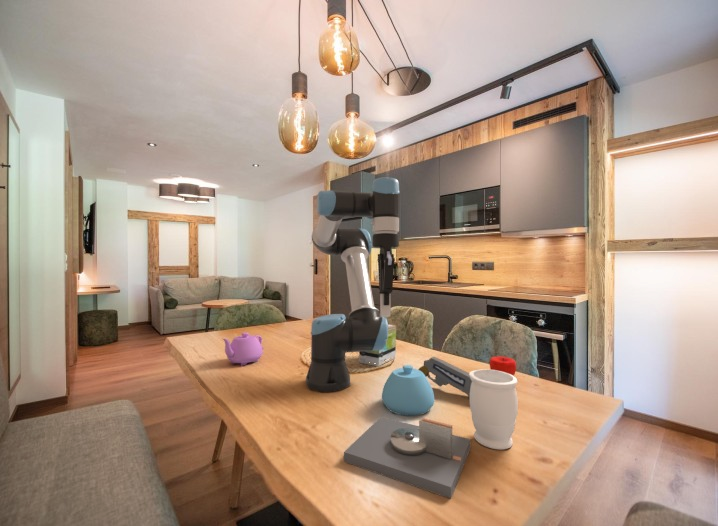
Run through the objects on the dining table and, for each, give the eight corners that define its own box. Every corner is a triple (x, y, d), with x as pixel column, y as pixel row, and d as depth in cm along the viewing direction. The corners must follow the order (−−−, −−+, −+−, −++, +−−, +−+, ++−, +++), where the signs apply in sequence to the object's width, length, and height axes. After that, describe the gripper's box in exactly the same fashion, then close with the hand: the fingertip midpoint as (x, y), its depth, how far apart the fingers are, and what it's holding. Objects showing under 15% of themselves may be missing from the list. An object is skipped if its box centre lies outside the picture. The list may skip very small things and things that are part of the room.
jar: (462, 429, 81) (462, 369, 81) (502, 428, 82) (502, 368, 82) (482, 454, 70) (482, 384, 70) (527, 452, 71) (527, 383, 71)
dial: (384, 448, 69) (384, 418, 69) (399, 431, 76) (399, 404, 76) (445, 467, 62) (445, 435, 62) (456, 447, 69) (456, 418, 69)
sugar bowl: (373, 400, 99) (373, 361, 99) (415, 392, 105) (415, 356, 105) (398, 422, 85) (398, 377, 85) (445, 412, 91) (445, 370, 91)
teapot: (233, 372, 124) (233, 340, 124) (211, 365, 132) (211, 335, 132) (273, 359, 141) (273, 331, 141) (251, 354, 149) (251, 327, 149)
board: (343, 461, 68) (343, 451, 68) (380, 424, 83) (380, 415, 83) (451, 498, 57) (451, 486, 57) (470, 448, 73) (470, 438, 73)
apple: (509, 387, 109) (509, 363, 109) (484, 380, 116) (484, 357, 116) (520, 380, 115) (520, 358, 115) (496, 374, 122) (496, 353, 122)
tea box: (379, 367, 130) (379, 330, 130) (358, 363, 136) (358, 327, 136) (396, 358, 143) (396, 324, 143) (376, 354, 148) (376, 322, 148)
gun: (475, 430, 98) (494, 388, 94) (411, 380, 114) (425, 343, 110) (479, 426, 100) (498, 385, 97) (416, 378, 116) (430, 341, 112)
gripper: (369, 235, 99) (369, 312, 99) (376, 231, 86) (376, 320, 86) (393, 235, 100) (393, 312, 100) (404, 231, 87) (403, 320, 87)
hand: (385, 316), depth 93 cm, fingers closed
